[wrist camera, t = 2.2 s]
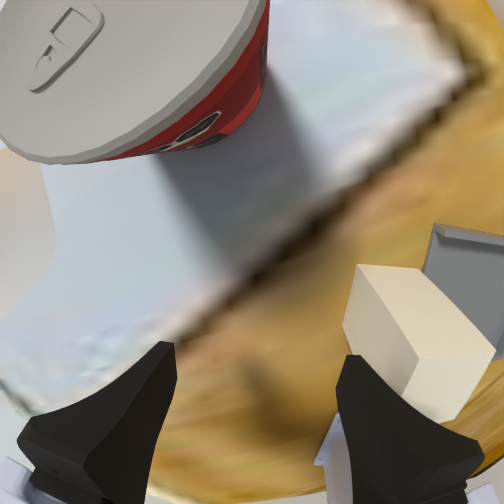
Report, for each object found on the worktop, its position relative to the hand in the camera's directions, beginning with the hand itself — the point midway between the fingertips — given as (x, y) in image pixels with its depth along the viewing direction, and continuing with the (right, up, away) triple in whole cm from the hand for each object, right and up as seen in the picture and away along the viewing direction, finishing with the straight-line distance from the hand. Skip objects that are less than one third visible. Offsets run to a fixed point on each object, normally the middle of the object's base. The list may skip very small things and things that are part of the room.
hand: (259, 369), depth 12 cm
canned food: (-3, +14, +3) cm, 15 cm away
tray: (+17, +1, +6) cm, 18 cm away
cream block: (+8, +2, +6) cm, 11 cm away
